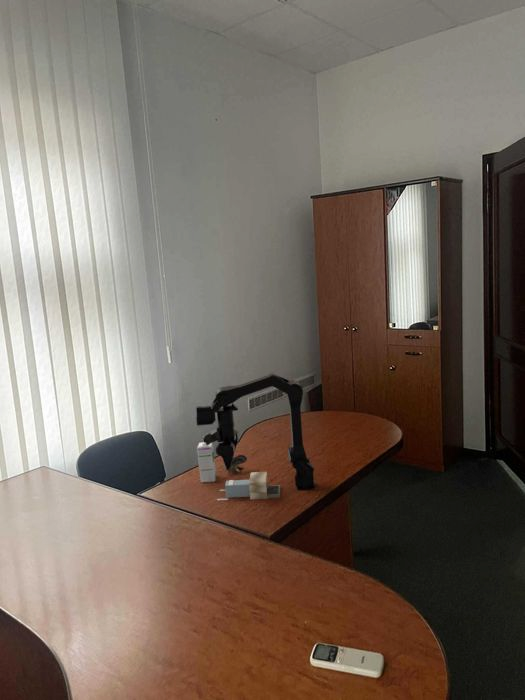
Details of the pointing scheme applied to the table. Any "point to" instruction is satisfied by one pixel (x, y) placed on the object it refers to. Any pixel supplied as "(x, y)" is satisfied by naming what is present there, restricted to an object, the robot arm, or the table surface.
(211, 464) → the syrup box
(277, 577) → the table surface
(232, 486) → the grey rectangular block
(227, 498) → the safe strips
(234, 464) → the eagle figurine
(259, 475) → the tunnel
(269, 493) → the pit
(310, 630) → the table surface
